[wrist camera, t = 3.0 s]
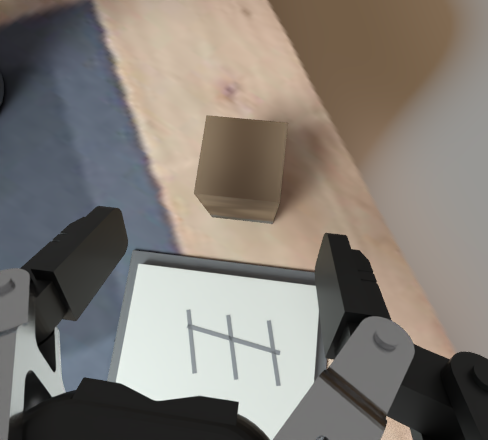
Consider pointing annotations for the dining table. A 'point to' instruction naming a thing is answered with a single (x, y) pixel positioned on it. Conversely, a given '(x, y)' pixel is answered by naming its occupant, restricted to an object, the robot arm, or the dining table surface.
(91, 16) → the dining table surface
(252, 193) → the block
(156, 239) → the dining table surface
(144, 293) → the board
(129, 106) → the dining table surface
